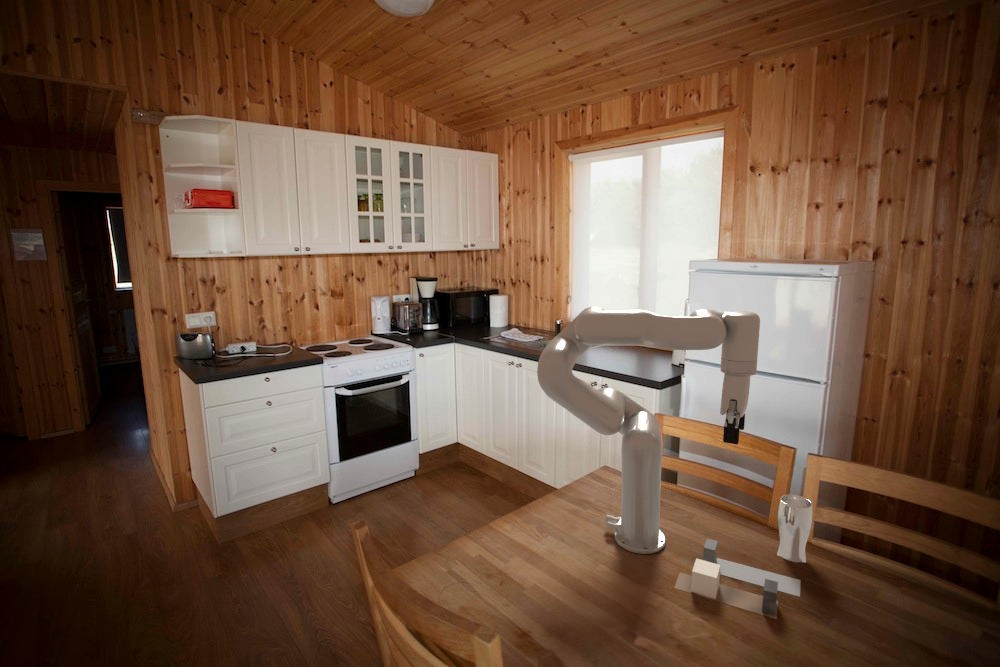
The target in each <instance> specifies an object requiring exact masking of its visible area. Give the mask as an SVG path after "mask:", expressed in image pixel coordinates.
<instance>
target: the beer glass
mask: <svg viewBox="0 0 1000 667" xmlns="http://www.w3.org/2000/svg"><path fill="white" fill-rule="evenodd" d="M812 524H813V502H812V501H811V500H810V499H808V498H806V497H804V496H801V495H797V494H784V495H781V496H780V501H779V506H778V514H777V525H778V533H779V547H778V550H777V553H776V555H777V557H781V558H782V559H784V560H786V561H789V562H793V563H807V557H806V545H807V543H808V540H809V537H810V534H811V530H812Z"/></svg>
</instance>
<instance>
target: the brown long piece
mask: <svg viewBox="0 0 1000 667" xmlns="http://www.w3.org/2000/svg"><path fill="white" fill-rule="evenodd" d="M691 585H692V574H691V575H690V574H687V573H684V572H681V571H680V572H679V574H678V577H677V579H676V582H675V584H674V587H673V588H674V589H675V590H679V591H683V592H686V593H687V594H688V593H689V594H692V595H695V596H698V597H702V598H706V599H708V600H712V601H716V602H718V603H722V604H724V605H728V606H730V607H735V608H737V609H741V610H745V611H748V612H750V613H754V614H758V615H761V616H764V617H767V618H770V619H774V620H777V619H778V618H777V617H778V606H779V600H777V599H778V597H777V596H778V591H777V588H778V582H776V581H772V580H769V579H765V583H764V587H763V594H762V595H759V594H756V593H753V592H749V591H746V590H742V589H739V588H734V587H731V586H729V585H725V584H722V583H719V588H718V592H717V596H716V599H714V598H711V597H707V596H704V595H701V594H697V593H694V592H691Z"/></svg>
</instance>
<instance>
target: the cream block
mask: <svg viewBox="0 0 1000 667" xmlns="http://www.w3.org/2000/svg"><path fill="white" fill-rule="evenodd" d="M691 576H692V585H691V592H694V593H697V594H701V595H704V596H707V597H711V598H714V599H716V596H717V592H718V588H719V584H720V577H721V575H720V565H719V564H715V563H711V562H708V561H704V560H703V559H700V558H697V557H696V559H695V561H694V564H693V567H692V571H691Z"/></svg>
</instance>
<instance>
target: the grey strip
mask: <svg viewBox="0 0 1000 667" xmlns="http://www.w3.org/2000/svg"><path fill="white" fill-rule="evenodd" d="M718 542H719V541H718V540H714V539H711V538H706V540H705V543H704V545H703V557H702V558H703V559H702V560H704V561H708V562H711V563H715V564H719V565H720V576H724V577H729V578H731V579H735V580H738V581H742V582H746V583H749V584H754V585H757V586H760V587H763V588H764V583H765V579H769V580H772V581H776V582H778V588H777V592H781V593H785V594H789V595H791V596H792V595H793V596H795V597H801V579H798V578H793V577H790V576H787V575H782V574H779V573H775V572H771V571H768V570H764V569H760V568H756V567H753V566H749V565H745V564H741V563H738V562H734V561H730V560H727V559H722V558H719V557H718Z"/></svg>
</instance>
